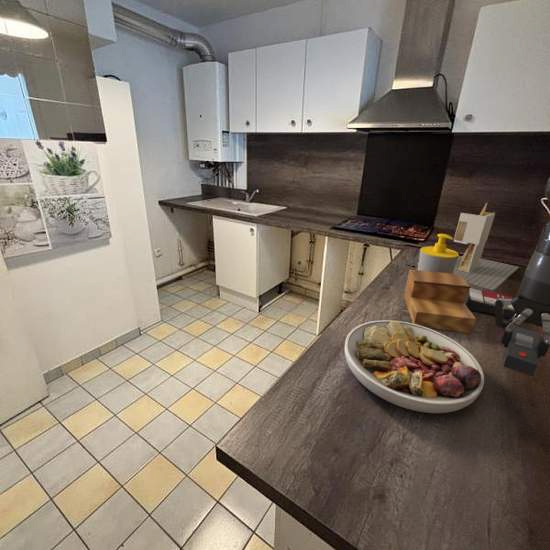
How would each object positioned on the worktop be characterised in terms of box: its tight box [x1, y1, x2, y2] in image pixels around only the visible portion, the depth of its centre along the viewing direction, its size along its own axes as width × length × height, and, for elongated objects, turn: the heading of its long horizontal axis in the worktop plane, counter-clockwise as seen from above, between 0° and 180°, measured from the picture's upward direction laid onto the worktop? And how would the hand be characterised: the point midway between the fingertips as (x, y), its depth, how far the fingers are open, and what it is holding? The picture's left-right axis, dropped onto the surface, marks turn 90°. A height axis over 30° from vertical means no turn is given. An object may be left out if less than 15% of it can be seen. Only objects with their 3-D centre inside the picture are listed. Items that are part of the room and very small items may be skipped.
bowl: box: [344, 319, 485, 414], centre depth 70 cm, size 30×30×8 cm
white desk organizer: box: [453, 202, 496, 273], centre depth 133 cm, size 10×16×29 cm, turn 131°
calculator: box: [465, 287, 516, 320], centre depth 100 cm, size 11×4×15 cm
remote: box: [502, 326, 540, 377], centre depth 61 cm, size 14×5×3 cm, turn 139°
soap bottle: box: [416, 233, 459, 274], centre depth 112 cm, size 13×13×21 cm
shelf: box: [403, 269, 477, 334], centre depth 95 cm, size 16×20×11 cm
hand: (520, 350), depth 61 cm, fingers closed on remote, 4 cm apart
